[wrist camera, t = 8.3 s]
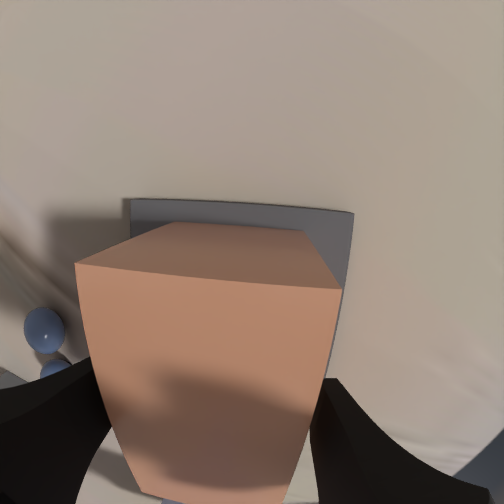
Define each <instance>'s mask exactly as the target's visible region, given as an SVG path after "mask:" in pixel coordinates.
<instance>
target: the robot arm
mask: <svg viewBox="0 0 504 504" xmlns="http://www.w3.org/2000/svg"><path fill="white" fill-rule="evenodd" d="M111 427H112V425H111V422H110V419H109V417H108V414H107V411H106V408H105V405H104V402H103V399H102V396H101V393H100V390H99V386H98V383H97V380H96V376H95V372H94V369H93V365H92V361H91V357H88V358H86V359H84V360H82V361H80V362H78V363H76V364H74V365H71V366H69V367H67V368H65V369H63V370H61V371H58V372H56V373H53V374H51V375H48V376H46V377H43V378H41V379H38V380H35V381H32V382H29V383H26V384H22V385H18V386H14V387H9V388H4V389H0V504H75V503H76V499H77V496H78V493H79V490H80V487H81V484H82V482H83V479H84V476H85V474H86V472H87V469H88V467H89V465H90V462H91V460H92V458H93V456H94V455H95V453H96V451H97V449H98V448H99V446H100V445H101V443H102V441H103V440H104V438H105V437H106V435H107V433H108V432H109V430H110V429H111ZM310 444H311V451H312V457H313V463H314V469H315V475H316V482H317V488H318V497H319V504H495V502H494V500H493V498H492V496H491V494H490V492H489V490H488V489H487V488H483V487H480V486H476V485H473V484H470V483H467V482H464V481H461V480H458V479H456V478H453V477H451V476H449V475H447V474H444V473H442V472H440V471H438V470H436V469H435V468H433V467H431V466H429V465H428V464H426V463H424V462H423V461H421V460H419V459H418V458H416V457H415V456H413V455H412V454H410V453H409V452H408V451H406V450H405V449H404V448H402V447H401V446H400V445H399V444H397V443H396V442H395V441H394V440H392V439H391V438H390V437H389V436H388V435H387V434H386V433H385V432H384V431H383V430H382V429H380V428H379V427H378V426H377V425H376V424H375V423H374V422H373V420H372V419H371V418H370V417H369V416H368V415H367V414H366V413H365V412H364V411H363V409H362V408H361V407H360V406H359V405H358V404H357V402H356V401H355V400H354V399H353V398H352V396H351V395H350V394H349V393H348V391H347V390H346V389H345V388H344V386H343V385H342V384H341V383H340V381H339V380H338V379H337V378H323V381H322V385H321V389H320V393H319V396H318V400H317V403H316V407H315V410H314V414H313V417H312V421H311V424H310ZM161 504H186V503H181V502H177V501H173V500H169V499H165V498H163V500H162V503H161Z"/></svg>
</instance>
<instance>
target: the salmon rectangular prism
mask: <svg viewBox="0 0 504 504" xmlns="http://www.w3.org/2000/svg"><path fill="white" fill-rule="evenodd" d="M75 273H76V281H77V289H78V296H79V303H80V309H81V315H82V320H83V325H84V330H85V335H86V340H87V344H88V349H89V353H90V357H91V361H92V365H93V369H94V372H95V376H96V380H97V383H98V386H99V390H100V393H101V396H102V399H103V402H104V405H105V408H106V411H107V414H108V417H109V419H110V422H111V425H112V427H113V430H114V433H115V435H116V438H117V440H118V443H119V445H120V447H121V450H122V452H123V454H124V457H125V459H126V461H127V463H128V465H129V467H130V469H131V472H132V474H133V476H134V478H135V480H136V482H137V484H138V486H139V487H140V489H141V491H142V492H144V493H147V494H150V495H154V496H157V497H161V498H165V499H169V500H173V501H177V502H181V503H186V504H282V502H283V500H284V497H285V495H286V492H287V490H288V487H289V485H290V482H291V479H292V477H293V474H294V471H295V469H296V466H297V463H298V460H299V457H300V455H301V452H302V449H303V446H304V443H305V440H306V437H307V433H308V430H309V427H310V424H311V421H312V417H313V414H314V410H315V407H316V403H317V400H318V396H319V393H320V389H321V385H322V381H323V377H324V374H325V370H326V365H327V361H328V357H329V353H330V348H331V344H332V339H333V335H334V330H335V325H336V320H337V315H338V310H339V305H340V299H341V294H342V288H341V287H340V285H339V284H338V282H337V281H336V279H335V277H334V276H333V274H332V273H331V271H330V270H329V268H328V267H327V265H326V264H325V262H324V261H323V259H322V257H321V256H320V254H319V253H318V251H317V250H316V248H315V247H314V246H313V244H312V243H311V241H310V240H309V238H308V237H307V235H306V234H305V232H304V231H300V230H288V229H276V228H263V227H250V226H236V225H222V224H207V223H191V222H172V223H169V224H167V225H164V226H162V227H159V228H156V229H154V230H151V231H149V232H146V233H144V234H141V235H139V236H136V237H134V238H131V239H129V240H127V241H124V242H122V243H119V244H117V245H115V246H112V247H110V248H107V249H105V250H103V251H100V252H98V253H96V254H94V255H91V256H89V257H87V258H84V259H82V260H80V261H78V262H75Z"/></svg>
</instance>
